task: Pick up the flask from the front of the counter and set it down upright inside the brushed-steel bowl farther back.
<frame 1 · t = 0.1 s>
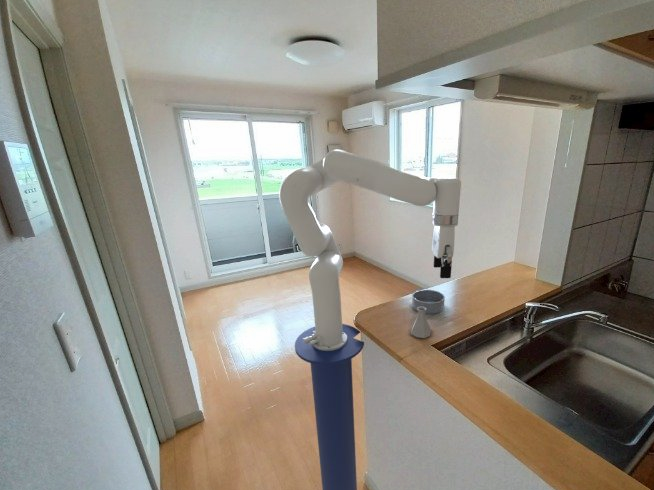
hand: (441, 272, 100), 25 cm above the counter, tool pointing down, fingers open, 9 cm apart
flask: (420, 333, 113), on the counter
bowl: (427, 306, 133), on the counter
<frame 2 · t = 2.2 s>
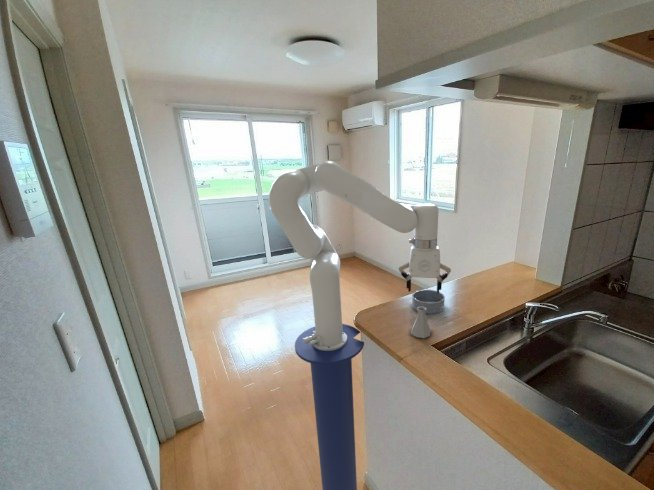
hand: (423, 290, 107), 17 cm above the counter, tool pointing down, fingers open, 9 cm apart
nothing on the counter moved.
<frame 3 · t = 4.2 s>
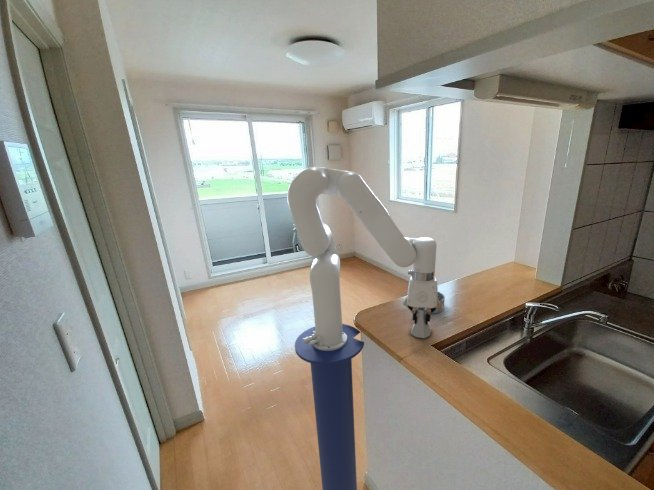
hand: (421, 321, 111), 5 cm above the counter, tool pointing down, fingers closed on flask, 3 cm apart
flask: (420, 333, 113), on the counter, touching gripper
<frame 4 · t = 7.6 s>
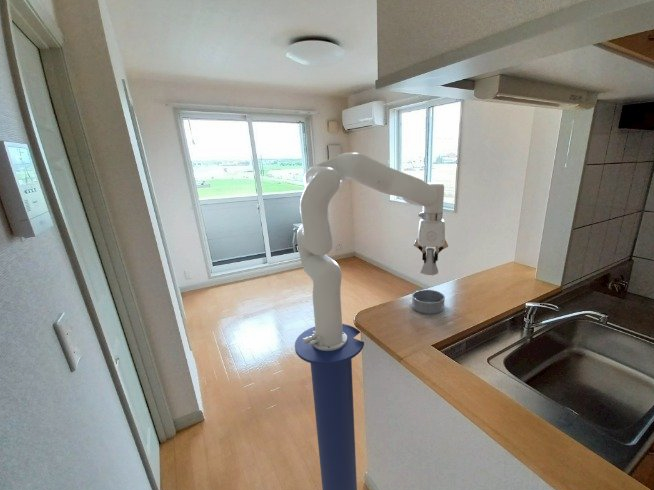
hand: (429, 261, 124), 21 cm above the counter, tool pointing down, fingers closed on flask, 3 cm apart
flask: (429, 273, 126), point 16 cm above the counter, touching gripper
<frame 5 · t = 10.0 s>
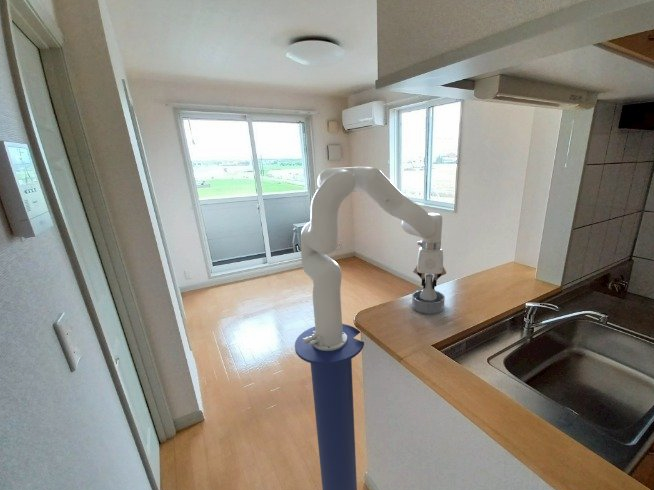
hand: (428, 287, 129), 9 cm above the counter, tool pointing down, fingers closed on flask, 3 cm apart
flask: (428, 297, 131), point 4 cm above the counter, touching gripper
when the fingers open (5 cm above the counter, at t = 11.3 s): flask stays where it is, resting on bowl.
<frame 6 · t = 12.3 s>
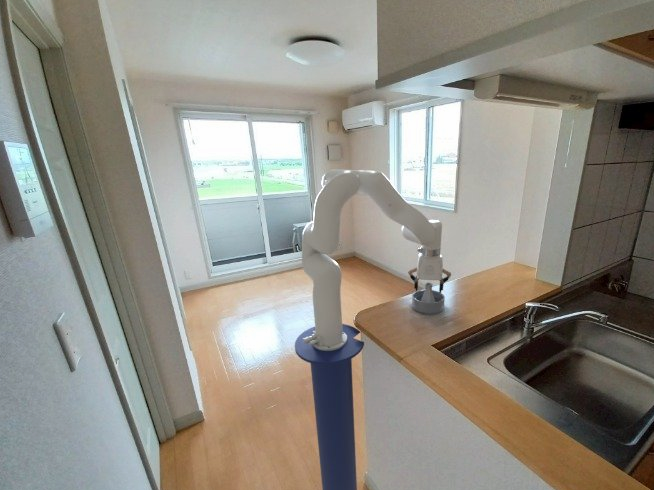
hand: (428, 290, 130), 7 cm above the counter, tool pointing down, fingers open, 9 cm apart
flask: (427, 305, 132), resting on bowl
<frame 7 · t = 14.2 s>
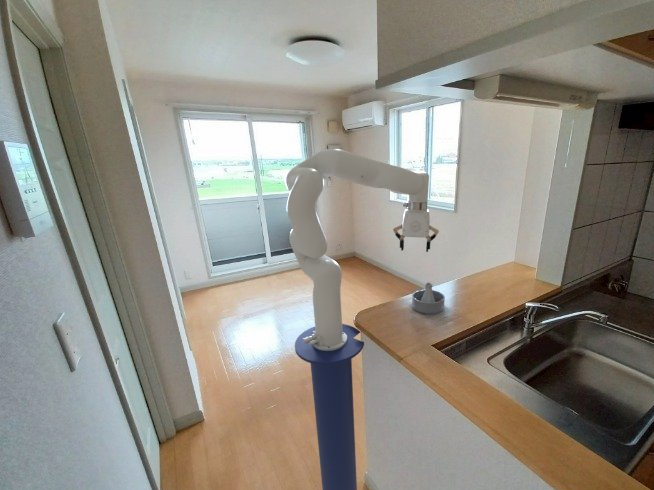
hand: (414, 250, 122), 26 cm above the counter, tool pointing down, fingers open, 9 cm apart
nothing on the counter moved.
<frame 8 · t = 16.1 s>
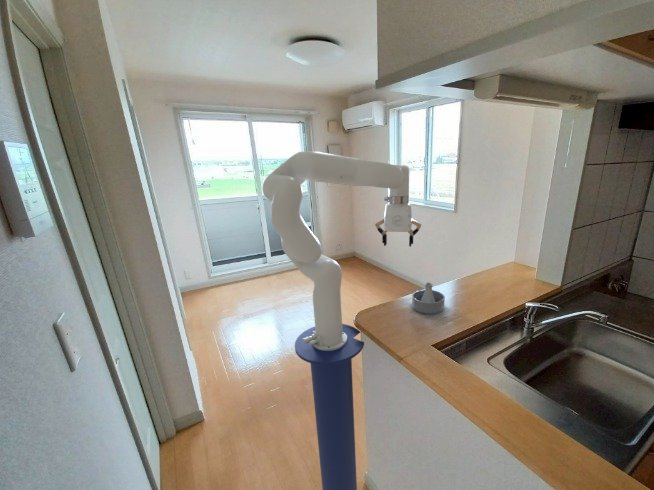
hand: (397, 245, 120), 28 cm above the counter, tool pointing down, fingers open, 9 cm apart
nothing on the counter moved.
at the end: flask 0.1 cm off-centre in the bowl, point 0.4 cm above the bowl's base; flask tilted 0°; the gripper is holding nothing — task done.
